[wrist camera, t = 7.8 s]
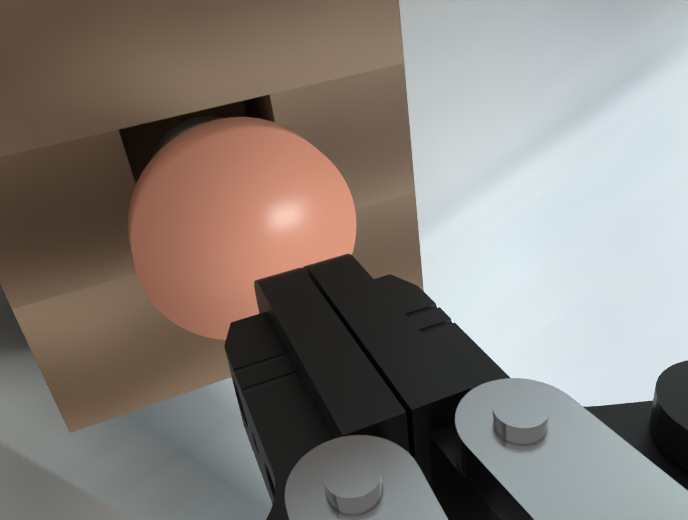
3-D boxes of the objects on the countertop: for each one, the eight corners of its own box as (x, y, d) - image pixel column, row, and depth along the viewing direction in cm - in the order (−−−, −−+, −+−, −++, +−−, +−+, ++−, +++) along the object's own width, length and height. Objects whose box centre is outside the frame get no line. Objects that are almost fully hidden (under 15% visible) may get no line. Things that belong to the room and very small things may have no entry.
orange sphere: (90, 105, 17) (99, 165, 12) (274, 65, 18) (340, 105, 14) (145, 270, 19) (169, 368, 15) (303, 224, 20) (368, 302, 16)
